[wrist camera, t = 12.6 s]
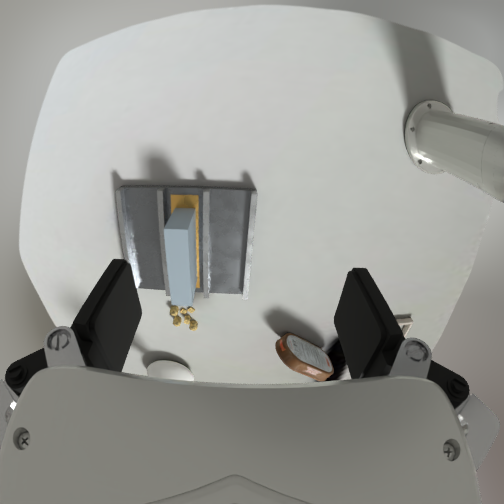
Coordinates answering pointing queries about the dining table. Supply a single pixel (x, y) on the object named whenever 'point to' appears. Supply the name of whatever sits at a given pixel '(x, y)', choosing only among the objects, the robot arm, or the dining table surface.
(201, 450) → the robot arm
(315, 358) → the tin
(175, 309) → the dice set
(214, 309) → the dining table surface
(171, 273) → the blue-grey rectangular block
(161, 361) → the flower in vase
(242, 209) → the rack
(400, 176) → the dining table surface
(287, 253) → the dining table surface
